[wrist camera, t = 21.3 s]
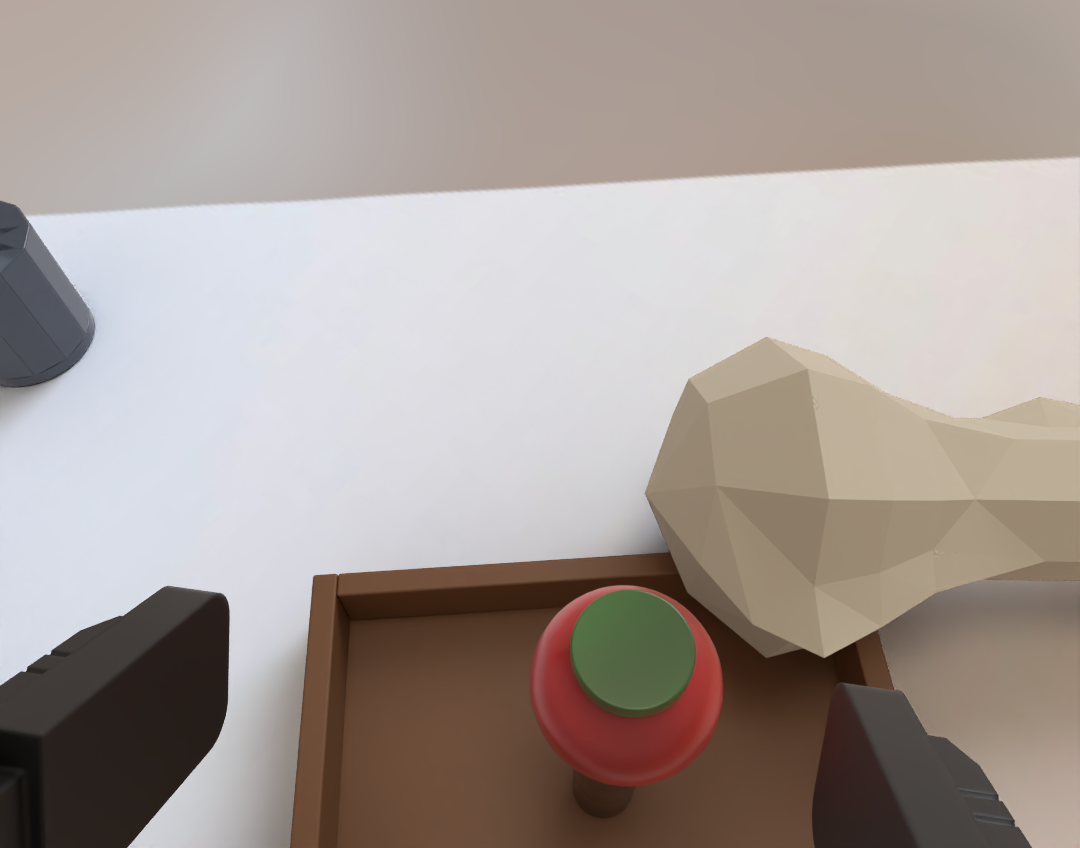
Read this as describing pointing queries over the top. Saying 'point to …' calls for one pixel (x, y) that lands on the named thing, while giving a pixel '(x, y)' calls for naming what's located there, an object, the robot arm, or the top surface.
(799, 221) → the top surface
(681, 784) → the tray
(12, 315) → the holder
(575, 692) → the red ball joystick
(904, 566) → the faceted club
